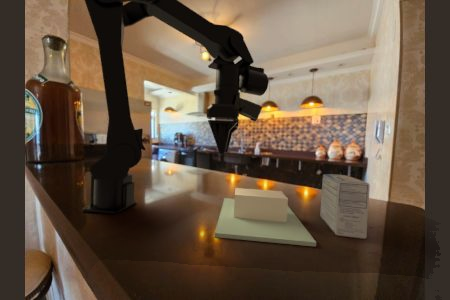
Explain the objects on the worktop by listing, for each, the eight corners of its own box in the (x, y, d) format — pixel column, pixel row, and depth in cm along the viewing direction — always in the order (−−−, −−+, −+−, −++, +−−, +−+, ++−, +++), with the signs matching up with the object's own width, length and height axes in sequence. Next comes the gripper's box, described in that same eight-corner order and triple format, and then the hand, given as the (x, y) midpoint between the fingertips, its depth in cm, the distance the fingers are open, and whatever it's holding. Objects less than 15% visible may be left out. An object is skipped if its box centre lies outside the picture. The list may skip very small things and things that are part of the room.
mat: (214, 237, 26) (214, 232, 26) (224, 200, 43) (224, 198, 43) (316, 246, 25) (316, 242, 25) (285, 205, 42) (285, 202, 42)
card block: (286, 222, 31) (288, 198, 31) (233, 217, 32) (234, 194, 32) (280, 211, 36) (281, 191, 36) (234, 207, 37) (235, 187, 37)
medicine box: (367, 240, 28) (371, 183, 27) (334, 236, 29) (338, 180, 28) (344, 219, 35) (347, 175, 35) (319, 216, 36) (322, 173, 36)
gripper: (266, 75, 35) (261, 157, 35) (257, 99, 53) (253, 153, 54) (208, 74, 36) (204, 154, 36) (219, 98, 54) (216, 150, 55)
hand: (223, 153), depth 45 cm, fingers open, 9 cm apart
